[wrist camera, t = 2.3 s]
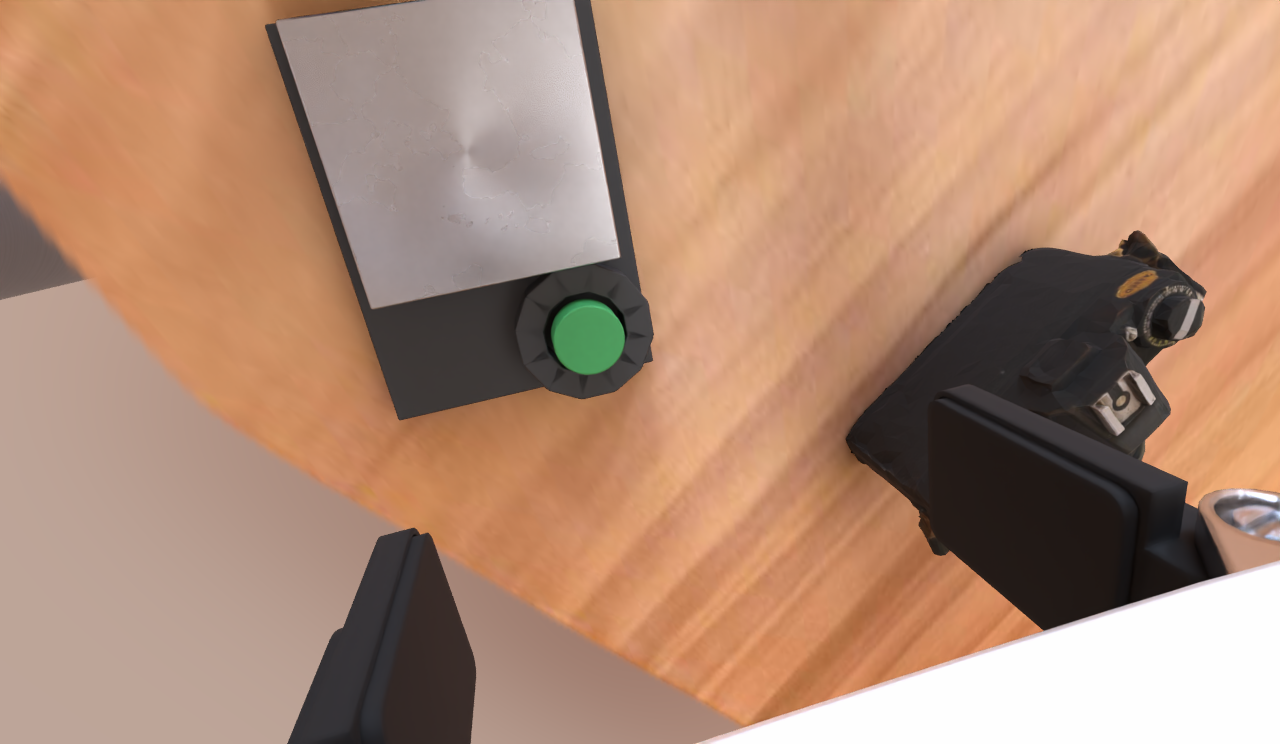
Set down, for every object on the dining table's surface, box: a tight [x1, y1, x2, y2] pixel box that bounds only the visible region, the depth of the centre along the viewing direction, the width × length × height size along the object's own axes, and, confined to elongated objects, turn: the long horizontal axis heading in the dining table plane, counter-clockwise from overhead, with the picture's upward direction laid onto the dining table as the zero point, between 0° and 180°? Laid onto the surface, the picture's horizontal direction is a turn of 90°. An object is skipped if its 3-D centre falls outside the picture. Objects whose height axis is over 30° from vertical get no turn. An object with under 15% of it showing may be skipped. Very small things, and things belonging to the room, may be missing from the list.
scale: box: [265, 0, 654, 420], centre depth 25 cm, size 12×16×3 cm
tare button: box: [551, 299, 625, 375], centre depth 25 cm, size 3×3×2 cm
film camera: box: [846, 230, 1207, 556], centre depth 30 cm, size 18×12×10 cm
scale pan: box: [276, 0, 621, 309], centre depth 22 cm, size 10×10×1 cm
